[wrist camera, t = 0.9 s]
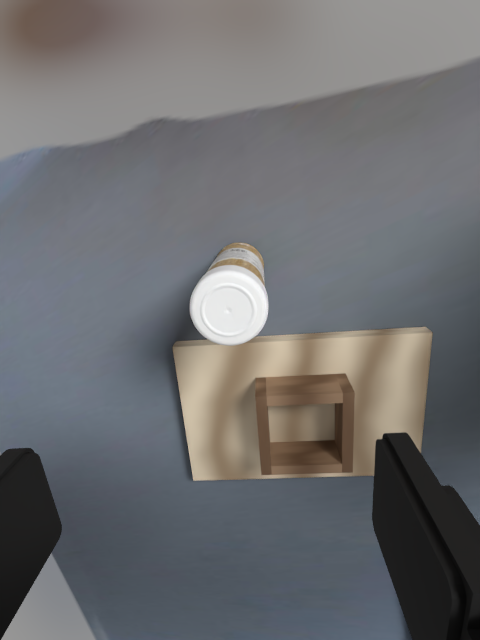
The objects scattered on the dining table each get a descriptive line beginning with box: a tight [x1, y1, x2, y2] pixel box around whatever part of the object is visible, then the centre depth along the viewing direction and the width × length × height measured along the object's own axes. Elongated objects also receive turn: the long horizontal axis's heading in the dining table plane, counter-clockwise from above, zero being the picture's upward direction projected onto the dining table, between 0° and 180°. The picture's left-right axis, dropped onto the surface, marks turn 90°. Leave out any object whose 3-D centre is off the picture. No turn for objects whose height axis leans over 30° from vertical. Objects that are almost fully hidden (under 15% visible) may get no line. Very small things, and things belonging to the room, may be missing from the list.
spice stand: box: [172, 327, 433, 481], centre depth 35 cm, size 24×16×5 cm, turn 95°
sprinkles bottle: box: [190, 243, 268, 346], centre depth 26 cm, size 5×5×14 cm
